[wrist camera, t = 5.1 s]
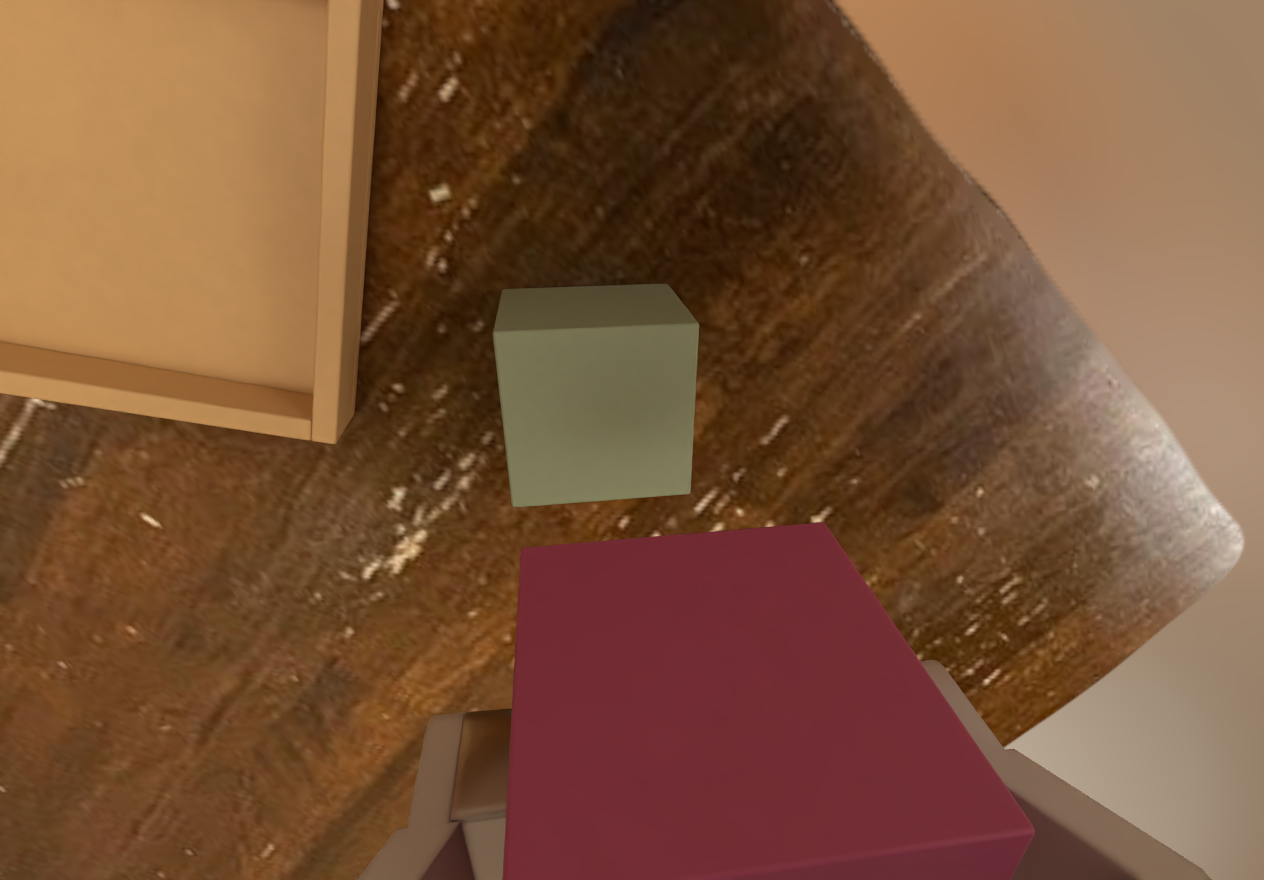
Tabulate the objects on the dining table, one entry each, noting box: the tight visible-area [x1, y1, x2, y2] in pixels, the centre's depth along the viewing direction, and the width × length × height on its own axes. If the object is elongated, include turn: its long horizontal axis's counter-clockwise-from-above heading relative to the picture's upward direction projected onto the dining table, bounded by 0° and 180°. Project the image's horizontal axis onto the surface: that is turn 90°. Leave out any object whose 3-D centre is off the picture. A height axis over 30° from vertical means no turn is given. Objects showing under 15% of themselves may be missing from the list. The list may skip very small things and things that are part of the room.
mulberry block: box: [502, 522, 1035, 880], centre depth 9 cm, size 5×5×5 cm
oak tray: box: [0, 0, 384, 444], centre depth 17 cm, size 16×14×2 cm
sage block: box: [493, 284, 699, 507], centre depth 21 cm, size 6×6×5 cm
